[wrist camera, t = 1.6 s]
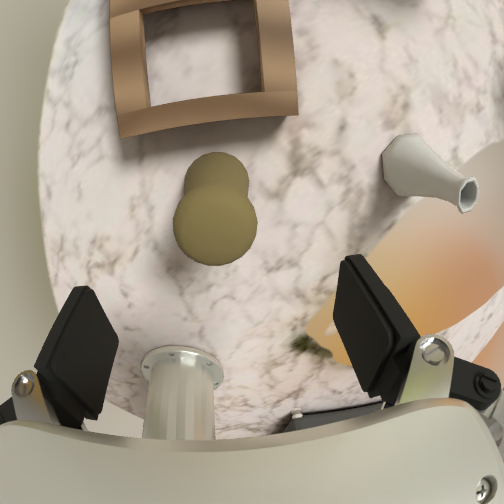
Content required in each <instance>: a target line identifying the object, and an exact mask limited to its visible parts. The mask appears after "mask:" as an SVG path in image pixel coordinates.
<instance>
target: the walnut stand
mask: <svg viewBox="0 0 504 504" xmlns="http://www.w3.org/2000/svg"><path fill="white" fill-rule="evenodd" d="M218 1H230V0H110V46H111V63H112V76H113V86H114V96H115V104H116V112H117V119H118V126H119V132H120V138H121V139H123V138H127V137H131V136H135V135H140V134H144V133H149V132H154V131H158V130H163V129H169V128H174V127H180V126H186V125H192V124H199V123H206V122H213V121H222V120H231V119H241V118H253V117H268V116H292V115H299V114H298V97H297V82H296V69H295V57H294V46H293V36H292V27H291V18H290V10H289V2H288V0H253V1H254V11H255V21H256V31H257V41H258V52H259V63H260V75H261V87H262V92H254V93H240V94H229V95H220V96H211V97H204V98H197V99H190V100H184V101H179V102H173V103H168V104H163V105H158V106H153V107H151V103H150V94H149V85H148V75H147V64H146V51H145V34H144V14H148V13H152V12H157V11H161V10H166V9H170V8H175V7H181V6H187V5H193V4H200V3H208V2H218Z"/></svg>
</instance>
